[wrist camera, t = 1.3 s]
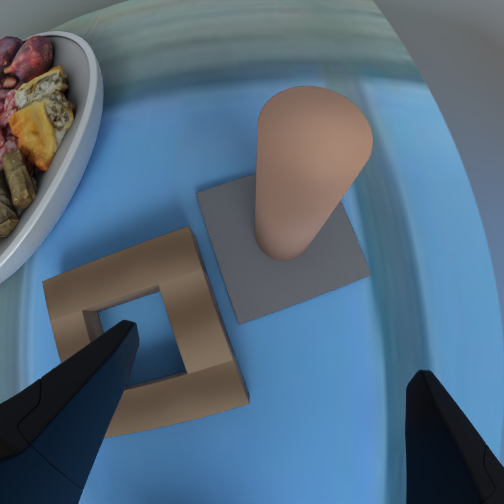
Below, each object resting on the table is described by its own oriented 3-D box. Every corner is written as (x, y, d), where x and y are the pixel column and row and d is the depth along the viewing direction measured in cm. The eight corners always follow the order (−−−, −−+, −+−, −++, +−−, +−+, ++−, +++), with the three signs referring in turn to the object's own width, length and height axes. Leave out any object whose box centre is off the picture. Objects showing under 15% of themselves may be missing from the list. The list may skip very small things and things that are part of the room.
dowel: (319, 249, 23) (392, 164, 10) (265, 268, 22) (283, 197, 10) (298, 199, 23) (341, 78, 11) (246, 216, 23) (241, 99, 10)
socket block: (249, 395, 21) (249, 403, 19) (102, 430, 20) (88, 439, 18) (194, 235, 23) (188, 225, 21) (59, 285, 23) (42, 281, 20)
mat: (368, 275, 23) (371, 274, 22) (239, 324, 22) (239, 324, 22) (318, 157, 25) (319, 154, 24) (196, 195, 24) (195, 192, 24)
